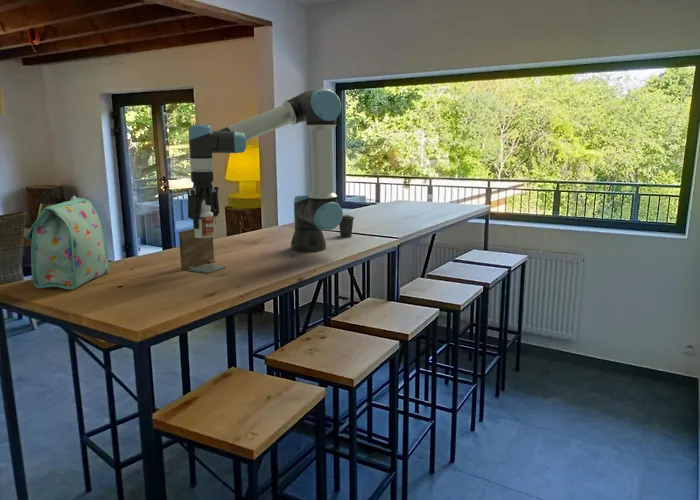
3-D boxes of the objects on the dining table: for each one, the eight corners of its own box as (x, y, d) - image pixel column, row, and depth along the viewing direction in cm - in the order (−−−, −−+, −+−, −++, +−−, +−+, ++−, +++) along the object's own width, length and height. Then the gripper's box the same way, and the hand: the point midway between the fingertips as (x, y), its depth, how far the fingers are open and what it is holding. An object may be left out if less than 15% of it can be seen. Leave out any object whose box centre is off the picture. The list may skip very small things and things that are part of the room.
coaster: (225, 267, 186) (225, 266, 186) (209, 273, 178) (209, 272, 178) (206, 265, 190) (206, 263, 189) (189, 270, 182) (189, 269, 182)
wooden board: (216, 261, 196) (214, 225, 192) (187, 271, 181) (184, 232, 178) (208, 260, 197) (206, 224, 194) (178, 269, 183) (176, 231, 180)
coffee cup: (345, 238, 239) (345, 217, 237) (334, 236, 245) (334, 215, 243) (357, 236, 245) (357, 215, 242) (346, 233, 251) (346, 213, 248)
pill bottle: (208, 238, 177) (206, 207, 175) (193, 237, 179) (191, 206, 176) (217, 235, 183) (216, 205, 180) (203, 234, 185) (201, 204, 182)
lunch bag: (69, 271, 180) (60, 195, 174) (115, 272, 180) (107, 196, 174) (27, 290, 158) (15, 204, 152) (79, 291, 158) (69, 205, 151)
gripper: (211, 168, 186) (214, 230, 191) (173, 171, 169) (177, 239, 174) (228, 169, 183) (230, 232, 188) (190, 172, 166) (194, 241, 171)
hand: (205, 235), depth 181 cm, fingers closed on pill bottle, 6 cm apart
